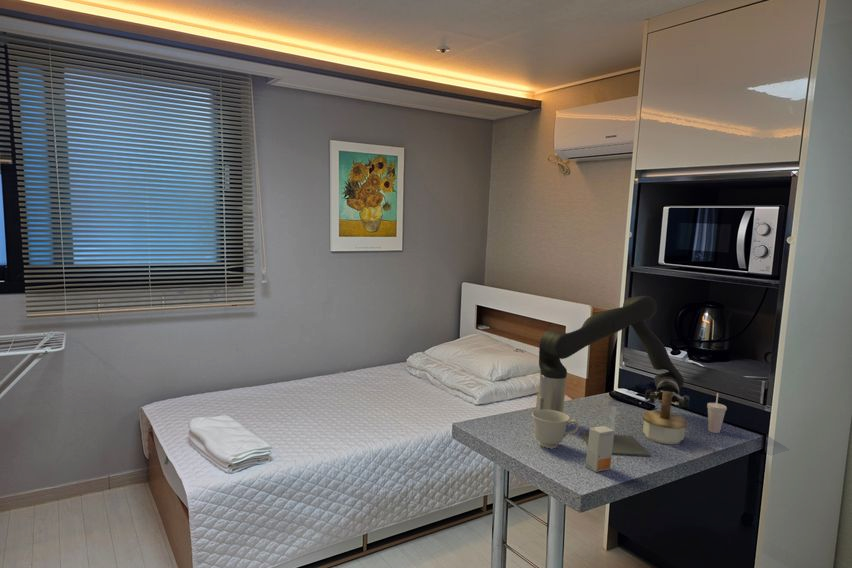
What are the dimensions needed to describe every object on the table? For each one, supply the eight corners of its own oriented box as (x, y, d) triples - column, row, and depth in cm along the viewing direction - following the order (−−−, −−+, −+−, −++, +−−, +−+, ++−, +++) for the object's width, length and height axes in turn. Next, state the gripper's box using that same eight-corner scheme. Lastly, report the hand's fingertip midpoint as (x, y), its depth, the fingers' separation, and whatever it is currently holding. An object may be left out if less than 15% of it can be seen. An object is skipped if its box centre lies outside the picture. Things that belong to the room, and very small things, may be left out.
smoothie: (719, 428, 205) (723, 391, 203) (727, 435, 198) (731, 397, 197) (701, 427, 205) (705, 390, 204) (708, 433, 199) (712, 395, 197)
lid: (652, 427, 184) (655, 397, 183) (636, 413, 198) (639, 385, 197) (694, 429, 184) (697, 400, 183) (675, 415, 198) (678, 387, 197)
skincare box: (595, 472, 160) (599, 432, 159) (585, 466, 164) (588, 427, 163) (611, 469, 163) (615, 430, 162) (600, 463, 167) (604, 425, 166)
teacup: (574, 457, 170) (577, 426, 169) (526, 448, 175) (528, 417, 174) (578, 444, 182) (581, 414, 181) (532, 435, 187) (535, 406, 186)
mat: (593, 453, 175) (593, 451, 174) (579, 434, 190) (579, 432, 190) (650, 456, 175) (650, 454, 175) (631, 437, 191) (632, 435, 190)
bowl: (652, 444, 186) (654, 426, 185) (638, 430, 198) (640, 414, 197) (688, 446, 186) (690, 428, 185) (672, 432, 198) (674, 416, 197)
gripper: (647, 378, 206) (645, 388, 191) (690, 384, 200) (690, 396, 185) (645, 397, 207) (642, 409, 192) (688, 404, 201) (688, 417, 186)
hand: (666, 403), depth 189 cm, fingers open, 8 cm apart
